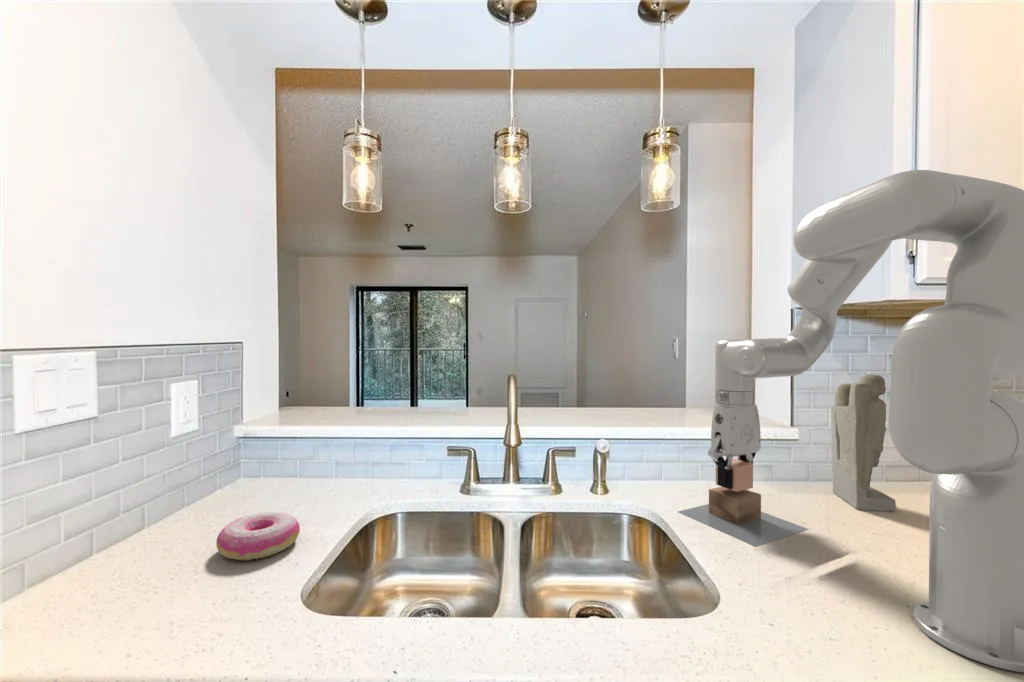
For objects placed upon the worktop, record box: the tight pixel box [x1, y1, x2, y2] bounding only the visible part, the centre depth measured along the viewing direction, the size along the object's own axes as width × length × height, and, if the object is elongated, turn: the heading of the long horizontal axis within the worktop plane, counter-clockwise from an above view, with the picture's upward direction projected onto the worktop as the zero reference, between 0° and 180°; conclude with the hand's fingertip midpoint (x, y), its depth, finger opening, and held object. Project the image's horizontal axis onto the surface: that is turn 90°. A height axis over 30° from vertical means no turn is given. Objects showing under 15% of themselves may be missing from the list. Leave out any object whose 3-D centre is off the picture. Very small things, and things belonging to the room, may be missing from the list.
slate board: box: [677, 503, 809, 548], centre depth 93 cm, size 18×16×1 cm
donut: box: [215, 511, 301, 561], centre depth 84 cm, size 14×13×5 cm
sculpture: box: [830, 373, 897, 512], centre depth 104 cm, size 15×8×30 cm, turn 168°
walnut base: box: [708, 486, 762, 525], centre depth 95 cm, size 7×7×5 cm
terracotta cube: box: [715, 457, 754, 492], centre depth 95 cm, size 5×5×5 cm
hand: (734, 484), depth 95 cm, fingers closed on terracotta cube, 5 cm apart
